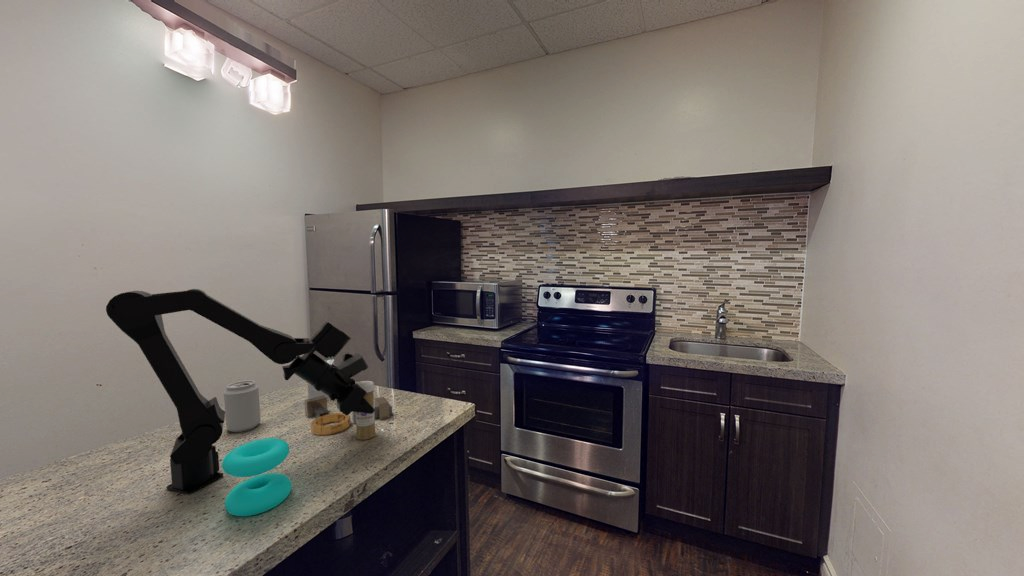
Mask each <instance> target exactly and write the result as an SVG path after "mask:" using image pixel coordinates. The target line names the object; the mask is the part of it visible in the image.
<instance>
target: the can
mask: <svg viewBox="0 0 1024 576" xmlns="http://www.w3.org/2000/svg"><path fill="white" fill-rule="evenodd" d="M225 387H226V389H225V390H224V391H223V401H224V402H223V403H224V411H225V428H226V430H227V431H230V432H231V433H241V432H247V431H250V430H252V429H254V428H256V427H257V426H258V425H259V424H260V423H261V408H260V407H261V405H260V404H261V403H260V391H259V385H257V384H256V381H255V380H252V379H250V380H249V379H247V380H239V381H235V382H232V383H229V384H227V385H226V386H225Z"/></svg>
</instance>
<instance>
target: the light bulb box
mask: <svg viewBox="0 0 1024 576" xmlns="http://www.w3.org/2000/svg"><path fill="white" fill-rule="evenodd" d="M323 360H324V359H323ZM324 361H326V362H327V363H329V364H331V365H332V364H333V365H335V359H326V360H324ZM306 384H307V396H308V397H307V399H310V398H314V397H319V396H323V395H324V396H326V397H327V401H331V399H330V398H329V396H327V395H326V394H324V393H323V392H321V391H317V390H316V389H315V388H314V386H312V385H311V384H309V383H308V382H306Z"/></svg>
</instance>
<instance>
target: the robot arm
mask: <svg viewBox="0 0 1024 576" xmlns="http://www.w3.org/2000/svg"><path fill="white" fill-rule="evenodd" d="M105 311H106V312H105V313H106V315H107V316H108V318H109V319H110V320H111V321H112V322H113V323H114V325H116V326H117V328H118V329H120V331H121V332H123V334H125V335H126V336H127V337H128V338H130V339H131V340H133V341H134V342H135V343H136V344H137V345H138V347H139V348H140V350H141V352H142V354H143V356H144V357H145V359H146V360H147V361H148V363H149V365H150V367H151V368H152V371H153V372H154V373H155V375H156V376H157V378H158V381H160V383H161V385H162V386H163V388H164V390H165V391H166V393H167V395H168V397H169V398H170V400H171V402H172V403H173V405H174V407H175V408H176V411H177V416H178V421H179V427H180V430H181V434H180V435H178V436H177V437H176V438H175V440H174V441H175V442H174V445H173V447H172V449H171V452H170V455H169V463H170V465H169V466H170V477H171V483H170V484H168V485H167V486H166V490H168V491H173V492H177V493H182V494H186V495H190V494H192V493H194V492H196V491H198V490H200V489H202V488H204V487H206V486H208V485H209V484H211V483H213V482H215V481H217V480H218V479H221V478H223V477H224V473H223V472H220V460H219V451H217V447H216V445H214V444H216V443H217V442H218V441H219V440H220V439H221V437H222V435H223V429H224V423H225V420H226V418H225V410H223V409H222V408H221V406H220V404H219V401H218V399H217V397H216V396H214V397H213V398H211V399H209V400H208V399H207V398H206V397H204V396H203V395H202V394H201V392H200V391H199V389H198V387H197V386H196V384H195V382H194V380H193V378H192V377H191V375H190V373H189V371H188V369H187V368H186V367H185V364H184V363H183V361H182V360H181V358H180V355H178V352H177V351H176V348H175V347H174V345H173V344H172V342H171V340H170V339H169V337H168V335H167V334H166V329H165V325H164V320H163V316H162V315H167V314H173V313H179V312H184V311H190V312H193V313H196V314H197V315H199V316H201V317H203V318H204V319H207V320H209V321H210V322H212V323H214V324H216V325H218V326H220V327H221V328H223V329H225V330H227V331H229V332H231V333H232V334H233V335H237V336H238V337H240V338H242V339H244V340H246V341H247V342H249V343H250V344H251V345H253V346H254V347H255V348H256V349H257V350H258V351H259V352H261V353H262V354H263V355H264V356H266V357H267V359H269V360H270V361H272V362H273V363H275V364H277V365H283V366H281V367H282V370H283V378H284V380H285V381H289V380H290V379H291V378H292V376H293V375H296V376H297V377H298V378H300V379H301V380H303V381H305V382H306V383H307V382H308V383H309V384H311V385H312V386H314V388H315V389H316V390H317V391H321V392H323V393H324V394H326V395H327V396H329V398H330V399H331V400H332V401H333V402H334V401H335V400H336V408H337V409H338V410H339V413H343V414H345V415H349V416H350V414H351V413H352V412H361V413H369V414H372V413H373V412H374V411H375V409H374V408H373V407H372V406H371V405H370V404H369V403H368V402H367V401H366V400H365V398H364V396H365V395H366V391H365V390H364V389H363V388H362V387H360V386H359V385H358V384H356V380H355V379H354V378H352V377H355V376H356V375H358V374H359V373H361V372H362V371H366V370H367V369H368V368H369V366H368V364H367V362H366V360H365V358H364V357H363V356H362V355H361V354H360V353H355V354H354V355H353V354H351V353H350V352H347V353H345V354H343V355H342V361H340V363H339V364H338V365H337V366H336V365H335V364H334V365H333V364H332V365H331V364H329V363H327V362H326V361H324V359H323V358H322V357H320V356H319V355H317V354H316V353H315V352H317V353H319V354H320V355H321V356H323V357H324V358H325V359H328V358H329V359H331V358H335V357H336V356H337V355H338V354H339V353H340V352H341V350H343V348H344V347H345V346H346V345H347V344H348V343H349V342H350V341H351V339H352V338H351V336H349V335H347V334H346V333H345V332H344V331H342V330H341V329H339V328H337V327H336V326H334V325H333V324H331V323H330V322H329V321H325V322H324V324H322V326H321V327H320V329H319V330H318V331H317V332H316V333H315V334H314V335H313V336H312V337H311V338H309V337H302V338H301V337H297V338H296V337H293V336H292V335H290V334H288V333H284V332H282V331H280V330H276V329H274V328H270V327H267V326H264V325H261V324H259V323H258V322H255V321H254V320H252V319H251V318H249V317H247V316H245V315H244V314H241V313H240V312H238V311H236V310H235V309H234V308H233V309H232V308H231V307H230V306H227V305H226V304H224V303H223V302H220V301H219V300H217V299H215V298H214V297H212V296H210V295H208V294H207V293H206V292H205V291H204V290H202V289H199V288H190V289H188V290H187V289H186V290H181V291H171V292H163V293H162V292H160V293H153V294H152V293H149V292H146V291H143V290H131V291H127V292H122V293H119V294H117V295H114V296H113V297H112V298H111V299H109V300H108V303H107V305H106V307H105ZM285 364H288V365H285ZM308 383H307V384H308ZM331 400H330V401H331Z"/></svg>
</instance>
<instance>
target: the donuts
mask: <svg viewBox="0 0 1024 576" xmlns="http://www.w3.org/2000/svg"><path fill="white" fill-rule="evenodd" d="M289 453H290V445H289V444H288V442H287V441H286V440H284V439H282V438H277V437H276V438H275V437H268V438H267V437H266V438H261V439H260V438H259V439H256V440H253V441H252V440H251V441H248V442H245V443H242V444H240V445H239V446H236V447H234V448H233V449H231V450H230V451H229V452H228V453H227V454H226V455H225V456H224V457H223V460H222V462H221V468H222V470H223V472H224V473H225V474H227V475H228V476H230V477H235V478H247V479H245V480H244V481H242V482H240V483H239V484H237V485H236V486H234V487H233V488H232V490H231V491H229V493H228V494H227V496H226V498H225V502H224V508H225V511H226V512H228V513H229V514H230V515H232V516H235V517H250V516H255V515H258V514H262V513H264V512H265V513H266V512H267V511H269V510H272V509H274V508H275V507H277V506H278V505H280V504H281V503H282V502H284V500H286V499H287V498H288V496H289V494H291V491H292V488H293V487H292V481H291V479H290V478H289V477H288V475H285V474H284V473H280V472H279V473H278V472H270V471H272V470H274V469H275V468H277V467H278V466H279V465H281V464H282V463H283V462H284V461H285V460H286V459H287V457H288V456H289ZM267 472H268V473H267ZM248 477H250V478H248Z"/></svg>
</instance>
